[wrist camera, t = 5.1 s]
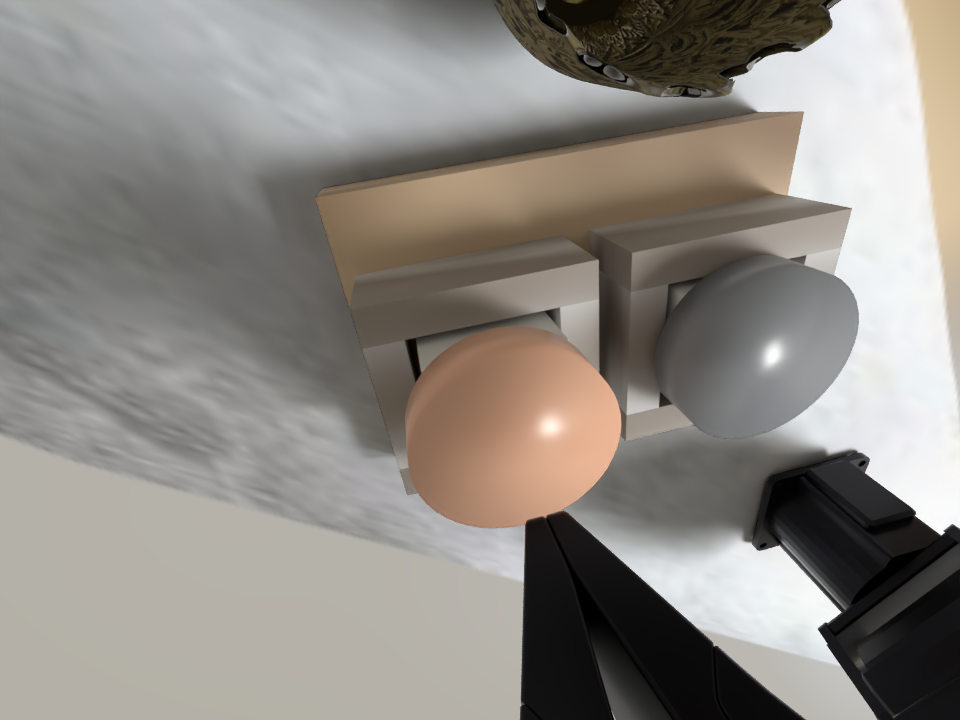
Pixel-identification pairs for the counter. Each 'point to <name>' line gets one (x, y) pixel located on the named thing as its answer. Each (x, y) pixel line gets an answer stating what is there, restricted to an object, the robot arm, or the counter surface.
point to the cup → (663, 39)
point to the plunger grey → (753, 344)
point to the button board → (569, 248)
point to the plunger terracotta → (507, 422)
